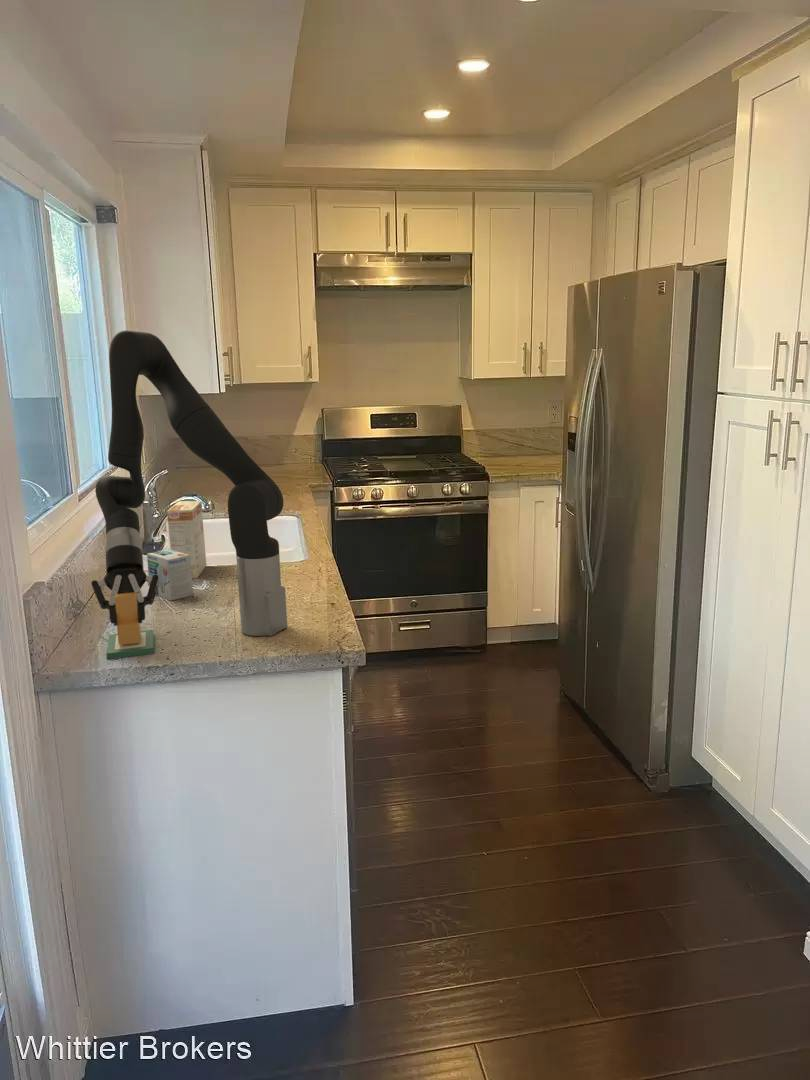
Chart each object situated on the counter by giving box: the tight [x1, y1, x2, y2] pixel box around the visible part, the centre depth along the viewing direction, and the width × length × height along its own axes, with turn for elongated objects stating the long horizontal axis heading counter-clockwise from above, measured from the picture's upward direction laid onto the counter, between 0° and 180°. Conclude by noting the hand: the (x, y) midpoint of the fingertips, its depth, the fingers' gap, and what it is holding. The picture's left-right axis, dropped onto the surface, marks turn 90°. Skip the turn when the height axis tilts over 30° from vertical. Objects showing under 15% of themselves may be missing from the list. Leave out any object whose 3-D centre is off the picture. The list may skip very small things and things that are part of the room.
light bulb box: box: [146, 548, 194, 601], centre depth 199 cm, size 11×7×11 cm, turn 47°
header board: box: [106, 629, 155, 660], centre depth 162 cm, size 12×9×4 cm
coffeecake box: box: [166, 500, 208, 580], centre depth 219 cm, size 15×7×20 cm, turn 4°
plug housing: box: [115, 592, 142, 645], centre depth 162 cm, size 10×4×10 cm, turn 18°
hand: (128, 622), depth 159 cm, fingers closed on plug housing, 4 cm apart
